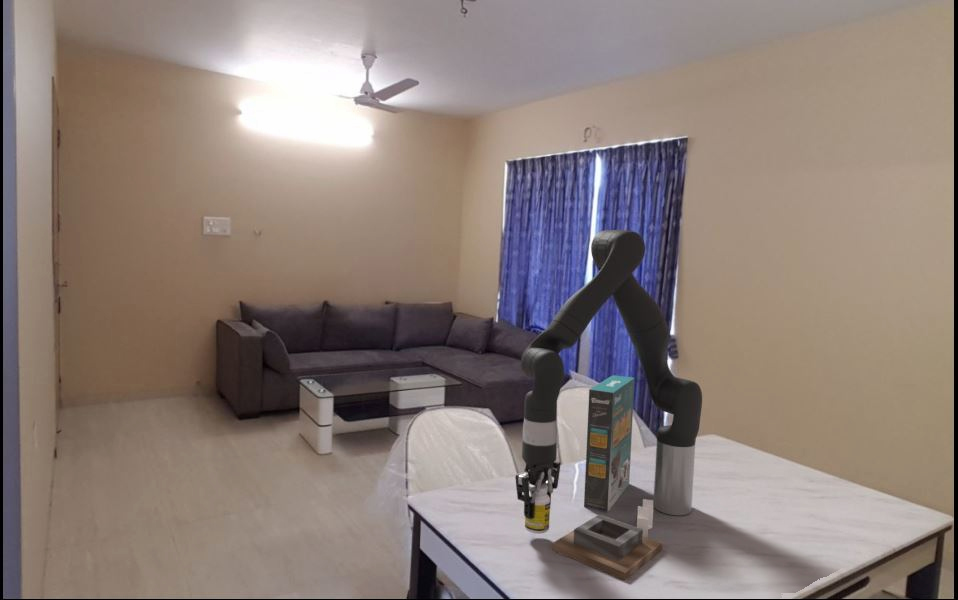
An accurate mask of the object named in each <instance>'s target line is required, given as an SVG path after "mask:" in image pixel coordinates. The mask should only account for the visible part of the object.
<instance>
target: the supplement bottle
mask: <svg viewBox="0 0 958 600" xmlns="http://www.w3.org/2000/svg"><path fill="white" fill-rule="evenodd" d="M529 486H530V487H533V488H534V487H535V486H534V485H531V484H530V483H529ZM547 489H548V487H547V485H546V484H541V485H540V489H539V492H538V493H536V497H535V501H534V502H535V513H534V518H533V519H529V518H526V517H525V516H524V528H525V530H526V531H528V532H529V533H533V534H544V533H547V532H548V531H549V529H550V515H551V514H550V513H551V505H550V497H549V496H548V495H547ZM531 493H532V491H529V495H530V496H531Z"/></svg>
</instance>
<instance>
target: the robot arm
mask: <svg viewBox="0 0 958 600" xmlns="http://www.w3.org/2000/svg"><path fill="white" fill-rule="evenodd" d="M590 251H591V257H592V260H593V262H594V264H595V267H596V268H597V270H598V272H597V273H596V274H595V276H594V277H592V279H591V280H590V281H588V282H587V283H586V284H585V285H584V286H583V287H581V288H580V289H579V290H577V291H576V292H575V293H574V294H573V295H571V296H570V297H569V298H568V299H567V300H566V301H565V302H564V303H563V305H562V306H561V307H560V309H559V310H558V311H557V313H556V314H555V316H554V317H553V319H552V321H551V322H550V324H548V326H547V327H546V328H545V329H544V330H543V331H542V332H541V333H539V334H538V336H536V337H535V339H534V340H532V341H531V343H530V344H528V346H527V347H526V348H525V350H524V352H523V353H522V356H521V359H520V369H521V371H522V372H523V374H524V375H526V376H527V377H529V378H531V379H533V387H532V390H530V391H528V392H527V393H526V395H525V397H524V408H523V409H524V413H523V414H524V415H523V424H522V439H521V440H522V442H521V443H522V445H521V451H522V452H521V458H522V460H523V461H524V463H525V468H524V471H523V473H521V474H520V473H517V474H516V475H515V486H516V495H517V497H516V498H517V500H518V501H522V502H524V503H523V515H524V518H525V517H526V518H529V519H533V518H534V513H535V502H534V501H535V497H536V493H538V492H539V489H540V485H541V484H546V485H547V487H548V489H547V495H548V496H549V497H550V506H551V504H552V502H551V501H552V494H553V492H554V489H555V490H556V489H558V487H559V486H558V484H559V480H560V472H561V462H560V461H557V453H558V450H557V446H558V425H557V424H558V422H557V413H558V412H557V411H558V409H557V408H558V406H557V405H558V404H557V403H558V398H559V395H560V392H561V389H562V384H563V381H564V375H565V366H564V361H563V359H562V357H561V355H560V354H559V353H560V352H561V351H563V350H565V349H570V348H573V347H574V346H575V345H576V343H577V342H578V341H579V339H580V337H581V336H582V335H583V333H584V332H585V330H586V329H587V328H588V326H589V324H590V323H591V322H592V320H593V319H594V317H595V315H597V313H598V312H599V310H600V309H601V308H602V307H603V306H604V305H605V303H607V301H608V300H609V299H610V298H611V296H612V298H613V300H614V303H615V306H616V308H617V310H618V312H619V314H620V316H621V319H622V321H623V322H622V323H623V324H624V327H625V331H626V332H627V334H628V336H629V339H630V340H631V341H630V342H632V343H631V344H632V345H633V348H634V350H635V352H636V354H637V357H638V360H639V362H640V365H641V367H642V370H643V373H644V376H645V379H646V383H647V386H648V390H649V394H650V397H651V399H652V401H653V404H654V405H655V407H656V408H657V409H659V410H660V411H662V412H664V413H668V414H671V415H673V418H672V423H671V424H669V425H663V426H659V428H658V429H657V432H656V445H655V446H656V448H655V470H654V485H653V499H652V500H653V509H655V510H656V511H659V512H660V513H662V514H666V515H672V516H687V515H690V514H691V512H692V508H693V507H692V506H693V505H692V504H693V490H694V488H693V487H694V471H695V457H696V456H695V454H696V440H697V439H696V438H697V436H698V434H699V431H700V425H701V424H700V423H701V416H702V409H703V392H702V389H701V387H700V385H699V384H698V383H697V382H695V381H692V380H689V379H686V378H681V377H676V376H675V375H673V372H672V371H671V369H670V366H669V364H668V361H667V351H668V347H669V343H670V338H671V336H670V334H671V333H670V328H669V326H668V324H667V320H666V318H665V316H664V313H663V311H662V309H661V307H660V305H659V304H658V303H657V301H656V300H655V299H654V298H653V297H652V295H650V294H649V292H647V291H646V289H645V288H644V287H643V286H642V285H641V283H640V282H639V281H638V280H637V278H636V277H635V275H634V272H635V271H636V270H637V268H638V267H639V266H640V265H641V263H642V261H643V259H644V258H645V253H646V242H645V241H644V238H643V237H642V235H640V234H639V232H638V233H637V231H632V230H626V229H605V230H604V229H603V230H601V231H599V232H597V234H595V236H594V237H593V238H592V241H591V246H590ZM530 484H531V485H534V486H535V487H534V488H533V487H530ZM529 491H532V493H531V496H530V495H529V493H530V492H529Z"/></svg>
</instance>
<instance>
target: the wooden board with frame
mask: <svg viewBox="0 0 958 600" xmlns="http://www.w3.org/2000/svg"><path fill="white" fill-rule="evenodd" d="M551 545H552V547H551V548H552V551H554V552H557V553H559V554H561V555H564V556H566V557H568V558H571V559H573V560H576V561H578V562H581V563H583V564H586V565H587V566H590V567H593V568H595V569H596V570H599V571H602V572H604V573H607V574H609V575H612V576H614V577H616V578H618V579H621V580H623V581H626V580H627V579H628V578H630V577H631V576H632V575H634V573H636V572H637V571H638V570H640V568H642V567H643V566H645V564H646V563H648V562H649V561H651V560H652V559H653V558H654V557H655V556H657V555H658V554H659V553H660V552H661V551H663V546H664V545H663V542H661V541H658V540H655V539H653V538H650V537H648V538H647V537H644V536H643V529H640V528H637V526H634V525H631V524H628V523H625V522H623V521H619V520H617V519H613V518H611V517H608V516H606V515H602V514H597V515H595V516H594V517H592V518H591V519H588V520H587V521H586V522H583V524H581V525H579V526H577V527H576V528H574V529H573V530H572V531H570V532H568V533H567V534H565V535H563V536H562V537H560V538H559V539H556V540H555V541H554V542H552V543H551Z"/></svg>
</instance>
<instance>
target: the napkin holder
mask: <svg viewBox="0 0 958 600" xmlns="http://www.w3.org/2000/svg"><path fill="white" fill-rule="evenodd" d="M653 500H654V499H645V498H643V499H642V506H640V505H637V516H636V527H637V528H640V529H643V536H644V537H647V538H649V530H650V529H652V528H653V522H654V521H653V519H654V506H653Z"/></svg>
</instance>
